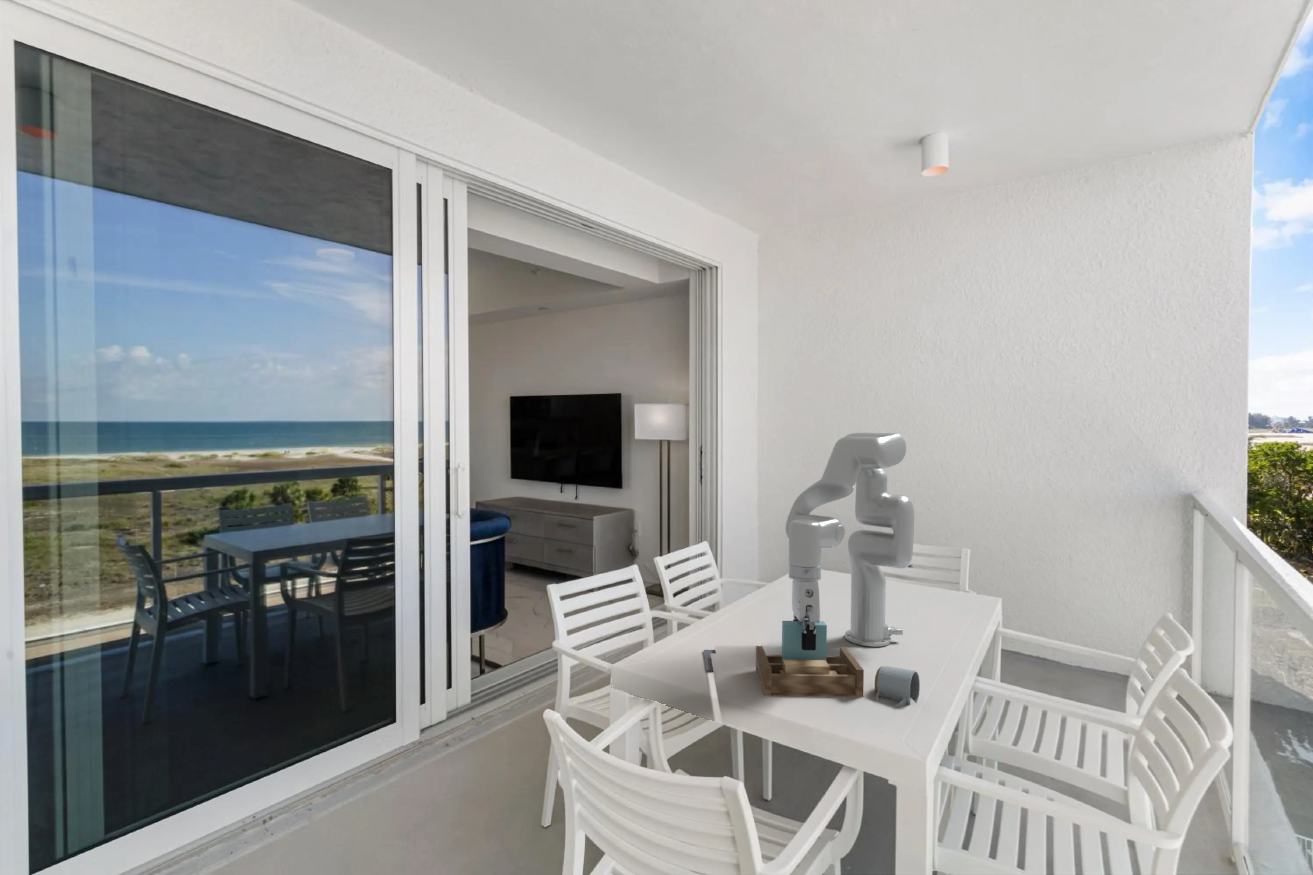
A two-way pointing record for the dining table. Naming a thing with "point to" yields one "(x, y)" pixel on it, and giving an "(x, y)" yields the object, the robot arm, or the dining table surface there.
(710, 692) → the dining table surface
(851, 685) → the walnut rack
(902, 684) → the ceramic mug
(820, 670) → the oak offcuts
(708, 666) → the gray l-shaped bracket
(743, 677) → the dining table surface
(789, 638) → the teal rectangular block
